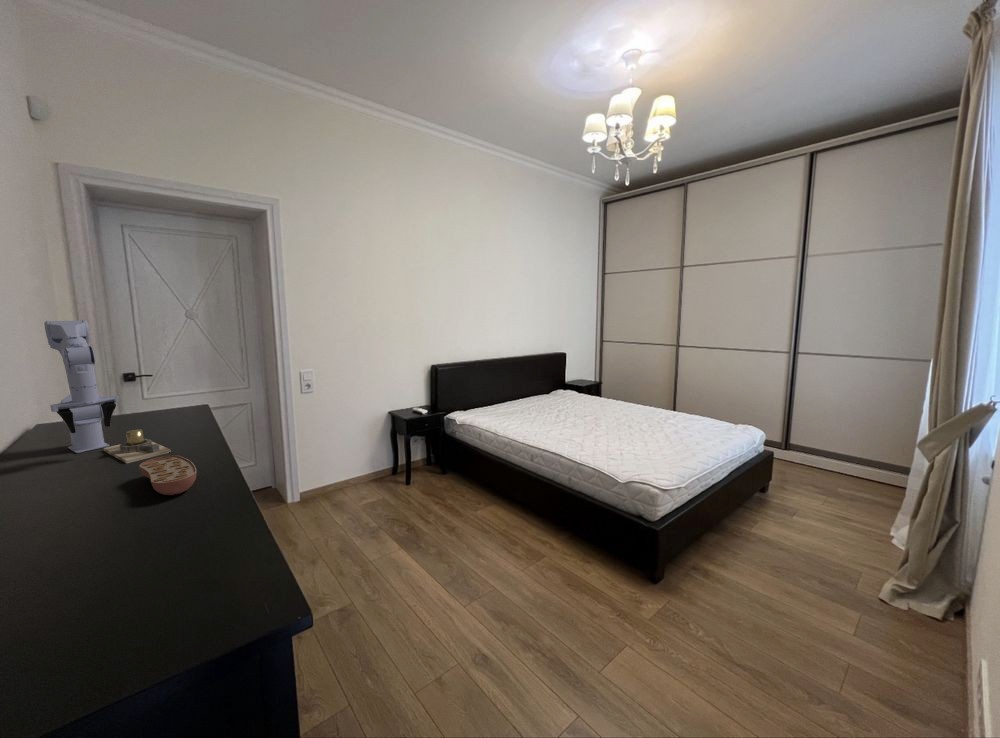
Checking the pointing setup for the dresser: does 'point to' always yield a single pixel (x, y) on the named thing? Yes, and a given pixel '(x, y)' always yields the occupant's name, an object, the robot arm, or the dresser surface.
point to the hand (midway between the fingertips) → (90, 429)
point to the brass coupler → (135, 437)
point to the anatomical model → (169, 474)
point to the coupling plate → (136, 451)
